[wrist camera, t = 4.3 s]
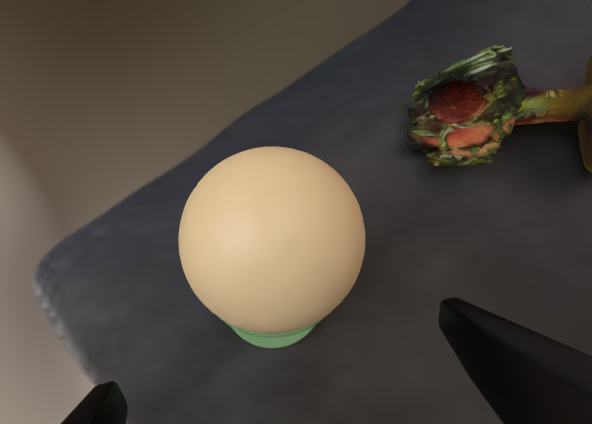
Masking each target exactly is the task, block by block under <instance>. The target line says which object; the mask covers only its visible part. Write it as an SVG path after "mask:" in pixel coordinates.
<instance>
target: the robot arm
mask: <svg viewBox="0 0 592 424" xmlns="http://www.w3.org/2000/svg"><path fill="white" fill-rule="evenodd" d="M439 326H440V328H441V330H442V332H443V334H444V335H445V337H446V339H447V340H448V342H449V344H450V345H451V347H452V349H453V350H454V352H455V354H456V355H457V357H458V359H459V360H460V362H461V363H462V365H463V367H464V368H465V370H466V372H467V373H468V375H469V376H470V378H471V379H472V381H473V382H474V384H475V385H476V387H477V388H478V389H479V391H480V392H481V393H482V395H483V396H484V398H485V399H486V400H487V402H488V403H489V404H490V406H491V407H492V408H493V410H494V411H495V412H496V414H497V415H498V417H499V418H500V419H501V421H502V422H503V423H504V424H592V356H589V355H587V354H585V353H583V352H580V351H578V350H576V349H573V348H571V347H569V346H566V345H564V344H562V343H560V342H557V341H555V340H553V339H550V338H548V337H546V336H544V335H541V334H539V333H537V332H534V331H532V330H530V329H528V328H525V327H523V326H521V325H518V324H516V323H514V322H511V321H509V320H507V319H505V318H502V317H500V316H498V315H495V314H493V313H491V312H489V311H486V310H484V309H482V308H479V307H477V306H475V305H473V304H470V303H468V302H466V301H463V300H461V299H459V298H449V299H445V300H443V301H442V302H441V305H440V314H439ZM126 417H127V402H126V400H125V398H124V396H123V394H122V392H121V390H120V388H119V386H118V384H117V383H116V382H114V381H111V382H107V383H103V384H99V385H97V386H95V387H94V388H93V389H92V390H91V391H90V392H89V393H88V395H87V396H86V397H85V398H84V399H83V400H82V401H81V402H80V403H79V404H78V406H77V407H76V408H75V409H74V410H73V411H72V412H71V413H70V414H69V415H68V417H66V419H65V420H64V421H63V422H62V423H61V424H126Z"/></svg>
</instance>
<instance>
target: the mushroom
mask: <svg viewBox="0 0 592 424" xmlns="http://www.w3.org/2000/svg"><path fill="white" fill-rule="evenodd" d="M497 46H498V45H495V46H493V47H487V48H485V49H483V50H482V51H480V52H478V53H477V54H475V55H474V56H473V57H471V58H469V59H465V58H461V59H460V60H459V61H457V62H453V63H452V64H451V65H452V66H451V67H449V68H448V69H447V70H442V71H441V72H438V73H439V75H438V74H437V73H436V75H435V77H434V78H427V79H425V80H423V81H418V85H416V86H415V92H414V94H413V97H414V101H415V102H416V104H415V105H414V106H412V107H409V108H408V114H409V116H410V118H411V120H412V122H413V124H414V123H417V122H418V124H417V125H416V126H415V127H413V128H412V126H411V128H410V129H409V130H408V132H407V133H408V134H407V137H409V136H410V137H411V138H410V142H406V143H407V144H408V148H409V150H410V151H411V152H422V151H424V153H425V154H427V157H429V158H430V159H428V160H426V161H424V162H423V163H425V162H432V163H433V165H434V166H439V165H448V166H450V167H454V166H456V165H459V166H468V165H475V164H477V163H479V162H480V163H485V162H487V163H492V162H493V159H492V158H491V153H493V154H496V153H497V152H496V150H497V149H499V147H501V146H499V145H500V144H501V140H502V139H503V138H504V137H505V136H507V135H511V132H512V130H513V127H514V125H522V124H536V123H543V122H563V121H577V120H580V122H579V126H578V133H579V144H580V149H581V154H582V159H583V163H584V166H585V167H586V169H587V170H589V171H590V172H591V173H592V53H591V56H590V59H589V63H588V66H587V71H586V75H585V80H584V86H583V87H579V88H575V89H548V90H536V89H535V88H533V89H525V86H524V85H523V84H522V81H521V79H520V77H519V76H518V71H517V68H516V67H515V66H514V65H513V63H514V62H515V61H516V60H517V59H518V58H516V59H513V60H510V58H512V57H515V55H513V54H512V52H513V51H510V49H511V48H512V47H511V48H509V49H508V48H505V47H504V46H503V45H502V46H500V47H498V48H497ZM431 156H432V157H433V158H431ZM435 156H436V157H435Z"/></svg>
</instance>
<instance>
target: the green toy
mask: <svg viewBox="0 0 592 424" xmlns="http://www.w3.org/2000/svg"><path fill="white" fill-rule="evenodd" d="M364 252H365V228H364V222H363V216H362V213H361V210H360V206H359V204H358V202H357V200H356V198H355V196H354V194H353V192H352V191H351V189H350V187H349V186H348V185H347V183H346V182H345V181H344V180H343V178H342V177H341V176H340V175H339V174H338V173H337V172H336V171H335V170H334V169H333V168H331V167H330V166H329V165H328V164H326V163H325V162H323V161H322V160H320V159H318V158H317V157H314V156H312V155H310V154H308V153H305V152H302V151H299V150H296V149H291V148H286V147H260V148H254V149H250V150H246V151H243V152H240V153H237V154H235V155H233V156H231V157H229V158H227V159H225V160H223V161H222V162H220V163H219V164H217V165H216V166H215V167H214V168H212V169H211V170H210V171H209V172H208V173H207V174H206V175H205V176H204V177H203V178H202V179H201V180H200V182H199V183H198V184H197V186H196V187H195V189H194V190H193V191H192V193H191V195H190V197H189V199H188V201H187V203H186V205H185V208H184V211H183V214H182V218H181V223H180V228H179V254H180V258H181V263H182V267H183V270H184V273H185V275H186V278H187V280H188V282H189V284H190V286H191V288H192V290H193V291H194V293H195V294H196V295H197V297H198V298H199V299H200V301H201V302H202V303H203V304H204V305H205V306H206V307H207V308H208V309H209V310H210V311H212V312H213V313H214V314H216V315H217V316H218V317H219V318H220V319H221V320H222V321H224V322H225V323H226V324H228V325H229V326H231V327H232V328H233V330H234V331H235V332H236V333H237V334H238V335H239V336H240V337H241V338H243V339H244V340H245V341H247V342H249V343H251V344H253V345H256V346H259V347H264V348H281V347H286V346H289V345H291V344H294V343H296V342H298V341H299V340H301V339H302V338H304V337H305V336H306V335H307V334H308V333H309V332H310V331H311V330H312V329H313V328H314V326H315V325H316V324H317V323H318V322H320V321H321V320H323V319H324V318H325V317H326V316H327V315H328V314H329V313H330V312H332V311H333V310H334V309H335V308H336V307H337V306H338V305H339V304H340V303H341V302H342V301H343V299H344V298H345V297H346V296H347V294H348V293H349V292H350V290H351V288H352V287H353V285H354V283H355V281H356V279H357V277H358V274H359V272H360V269H361V265H362V261H363V257H364Z"/></svg>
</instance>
